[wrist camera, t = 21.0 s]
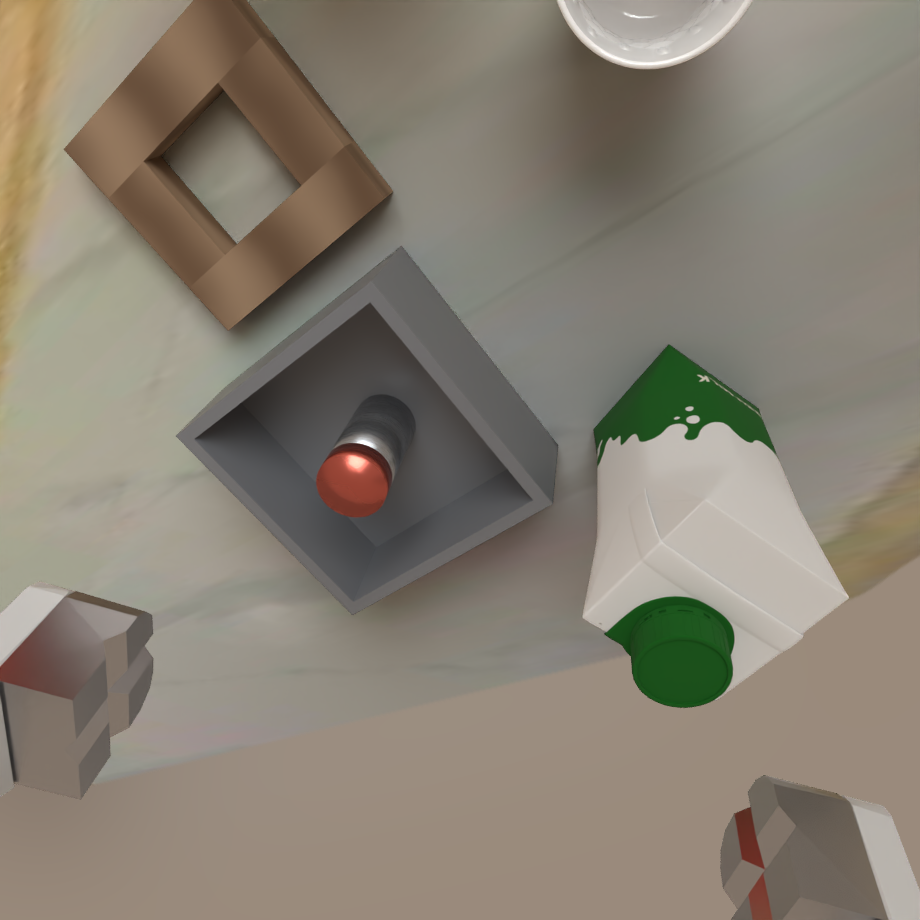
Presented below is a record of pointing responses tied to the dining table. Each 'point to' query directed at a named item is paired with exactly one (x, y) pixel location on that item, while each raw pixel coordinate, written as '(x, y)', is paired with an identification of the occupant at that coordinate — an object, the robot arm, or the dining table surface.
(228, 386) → the bin
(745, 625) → the milk carton
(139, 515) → the dining table surface
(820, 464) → the dining table surface
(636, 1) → the white cup
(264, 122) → the socket block
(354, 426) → the red and grey cylinder
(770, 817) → the robot arm
